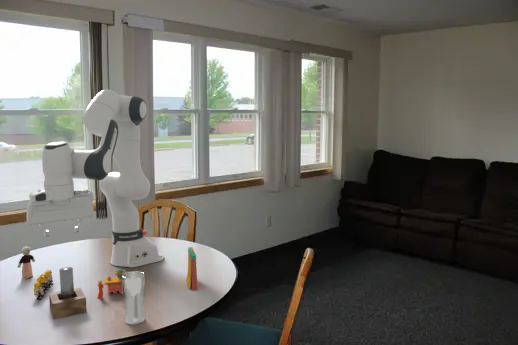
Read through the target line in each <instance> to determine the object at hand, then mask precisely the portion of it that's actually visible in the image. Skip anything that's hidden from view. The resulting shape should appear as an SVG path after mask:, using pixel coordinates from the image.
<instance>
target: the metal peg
mask: <svg viewBox="0 0 518 345" xmlns="http://www.w3.org/2000/svg"><path fill="white" fill-rule="evenodd" d="M58 272H59V285H60V291H61V300H63V299H68V298H73V297H74V289H75V287H74V286H75V284H74V268H73V267H71V266H64V267H61V268H60V269H59V271H58Z"/></svg>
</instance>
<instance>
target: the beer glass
mask: <svg viewBox="0 0 518 345" xmlns="http://www.w3.org/2000/svg"><path fill="white" fill-rule="evenodd" d="M121 294H122V296H123V297H122V298H123V302H124V307H125V318H124V322H125V324H127V325H131V326H134V325H139V324H142V323H144V322H145V319H146V317H145V313H144V304H145V297H146V280H145V273H144V272H142V271H140V270H132V271H126V273H124V274H123V275H122V293H121Z"/></svg>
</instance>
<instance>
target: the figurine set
mask: <svg viewBox="0 0 518 345" xmlns="http://www.w3.org/2000/svg"><path fill="white" fill-rule="evenodd" d="M53 282H54V280H53V272H52V270H51V269H50V270H49V269H47V270H46V271H45V272H44V273H41V274H40V275H39V276H38V277H37V278H36V279H35V282H34V283H33V296H35V299H36V300H37V301H41V300H42V299H41V298H44V296H45V295H46V294H47V291H49V290H50V288H52V286H53V285H54V283H53Z"/></svg>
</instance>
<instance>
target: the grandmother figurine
mask: <svg viewBox="0 0 518 345" xmlns="http://www.w3.org/2000/svg"><path fill="white" fill-rule="evenodd" d="M30 253H31V247H30V246H23V247H22V248H21V254H23V255H22V256H21V257H20V260H18V264H17V268H18V269H20V268H21V280H22V281H26V280H28V279H31V278H32V279H33V278H34V276H33V269H32V268H33V267H32V264H31V263H35V262H36V260H35V257H34V255H32V254H30ZM21 266H22V267H21Z"/></svg>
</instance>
